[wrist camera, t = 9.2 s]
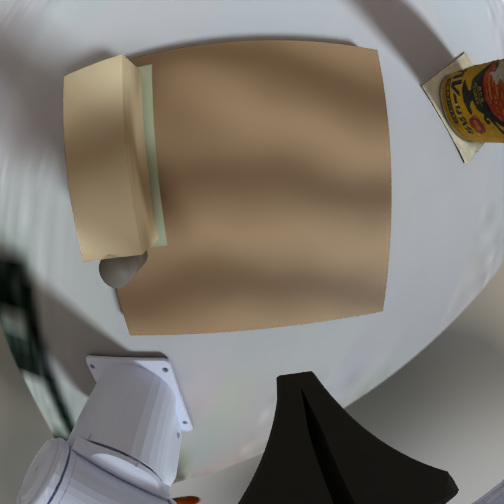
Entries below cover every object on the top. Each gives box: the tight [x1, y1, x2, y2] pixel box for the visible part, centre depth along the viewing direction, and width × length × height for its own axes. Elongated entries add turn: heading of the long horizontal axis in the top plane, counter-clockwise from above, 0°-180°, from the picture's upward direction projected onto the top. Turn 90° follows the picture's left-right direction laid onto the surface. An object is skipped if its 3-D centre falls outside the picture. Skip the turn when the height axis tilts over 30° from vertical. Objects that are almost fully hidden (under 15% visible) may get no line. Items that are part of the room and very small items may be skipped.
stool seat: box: [116, 40, 391, 335], centre depth 16 cm, size 18×18×2 cm
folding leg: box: [63, 54, 158, 288], centre depth 13 cm, size 12×4×3 cm, turn 6°
